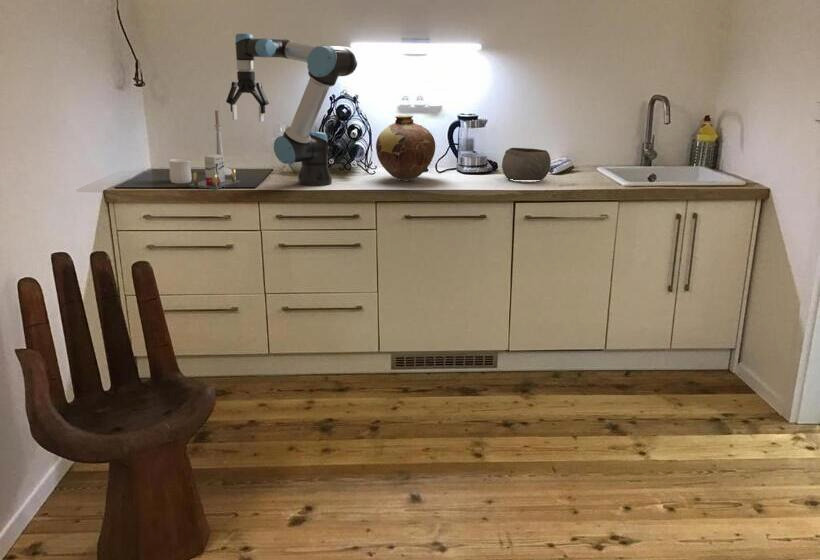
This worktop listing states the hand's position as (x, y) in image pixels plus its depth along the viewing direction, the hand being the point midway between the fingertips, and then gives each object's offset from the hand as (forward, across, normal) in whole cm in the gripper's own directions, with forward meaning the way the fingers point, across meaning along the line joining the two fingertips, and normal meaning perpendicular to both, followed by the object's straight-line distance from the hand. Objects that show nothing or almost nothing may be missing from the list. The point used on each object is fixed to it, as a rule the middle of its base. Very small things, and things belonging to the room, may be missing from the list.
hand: (248, 120), depth 311 cm
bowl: (+27, -117, -55) cm, 132 cm away
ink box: (+26, +7, +18) cm, 32 cm away
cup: (+27, +25, +18) cm, 41 cm away
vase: (+27, -65, -29) cm, 76 cm away
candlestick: (+27, +22, -9) cm, 36 cm away
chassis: (+27, +7, +18) cm, 33 cm away
